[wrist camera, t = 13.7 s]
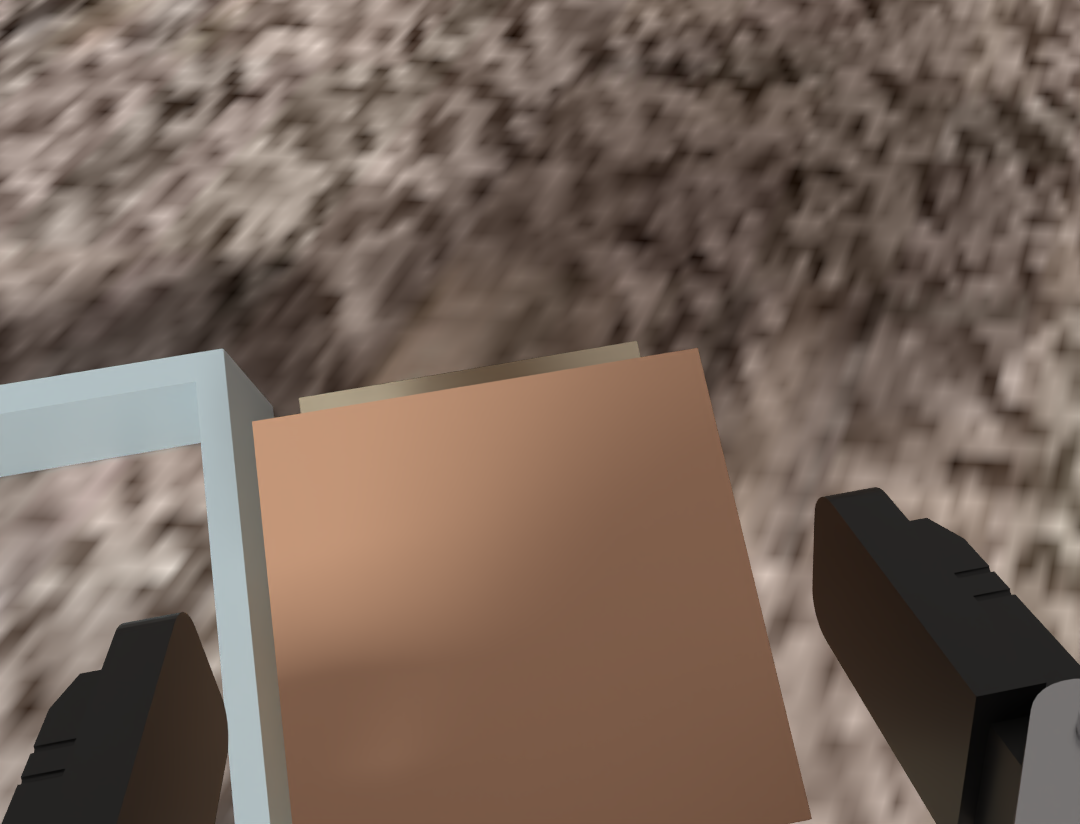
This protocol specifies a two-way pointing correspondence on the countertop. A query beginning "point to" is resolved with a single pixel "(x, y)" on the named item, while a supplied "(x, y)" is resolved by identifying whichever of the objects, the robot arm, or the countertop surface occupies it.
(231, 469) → the square frame
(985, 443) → the countertop surface
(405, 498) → the terracotta box
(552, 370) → the block
